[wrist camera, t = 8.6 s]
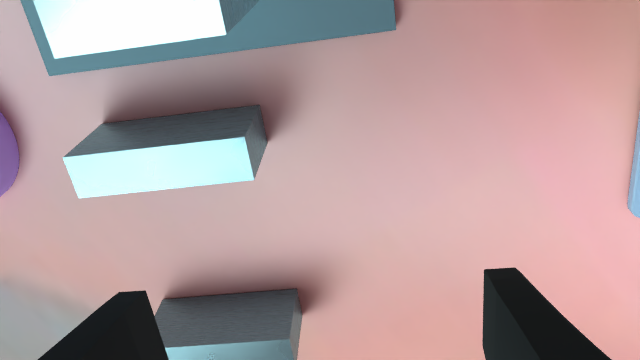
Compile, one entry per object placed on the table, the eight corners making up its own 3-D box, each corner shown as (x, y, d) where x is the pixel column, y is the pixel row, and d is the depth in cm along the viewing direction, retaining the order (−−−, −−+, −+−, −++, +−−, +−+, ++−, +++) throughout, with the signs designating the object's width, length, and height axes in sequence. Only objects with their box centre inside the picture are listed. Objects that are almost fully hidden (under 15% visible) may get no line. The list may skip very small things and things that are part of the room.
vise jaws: (259, 104, 19) (244, 136, 16) (315, 380, 25) (311, 436, 23) (101, 123, 20) (62, 157, 17) (193, 388, 26) (175, 443, 23)
